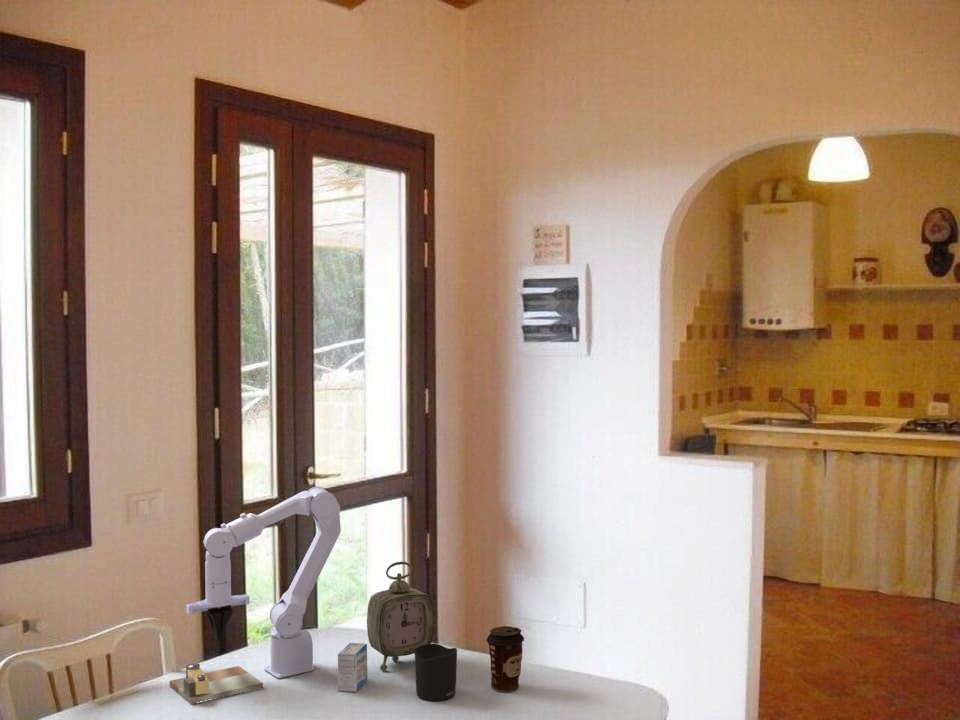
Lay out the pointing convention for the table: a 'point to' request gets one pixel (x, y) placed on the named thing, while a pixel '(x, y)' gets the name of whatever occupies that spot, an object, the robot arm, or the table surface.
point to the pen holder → (435, 672)
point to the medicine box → (352, 667)
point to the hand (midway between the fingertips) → (218, 639)
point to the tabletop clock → (399, 619)
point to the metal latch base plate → (218, 684)
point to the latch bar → (197, 678)
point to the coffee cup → (505, 657)
